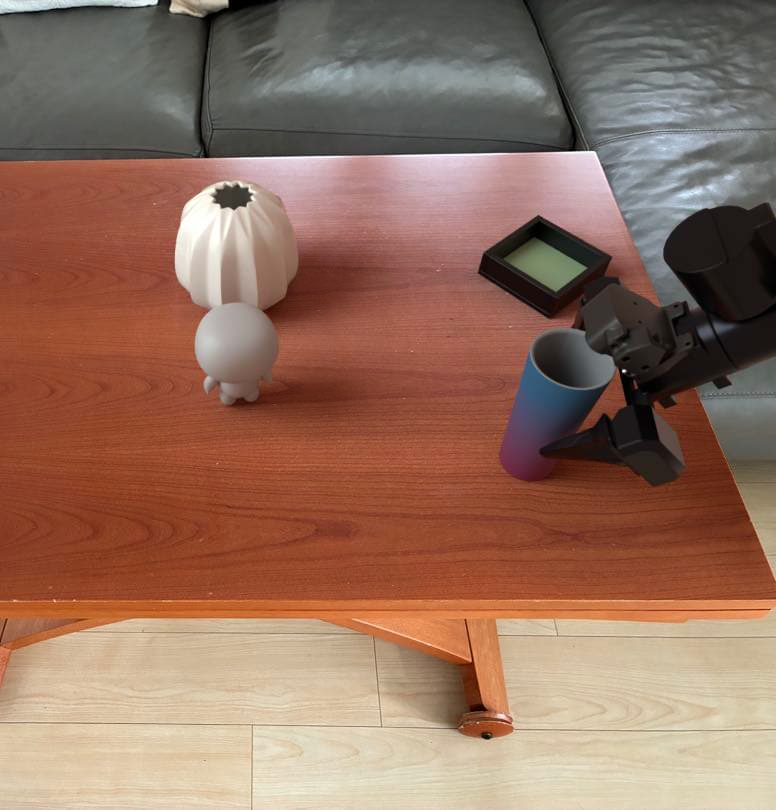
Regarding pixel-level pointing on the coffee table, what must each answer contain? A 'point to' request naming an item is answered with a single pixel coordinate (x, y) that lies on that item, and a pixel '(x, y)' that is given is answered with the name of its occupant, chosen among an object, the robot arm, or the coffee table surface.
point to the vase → (235, 246)
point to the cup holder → (543, 265)
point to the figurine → (236, 350)
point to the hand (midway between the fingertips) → (535, 411)
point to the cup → (552, 399)
